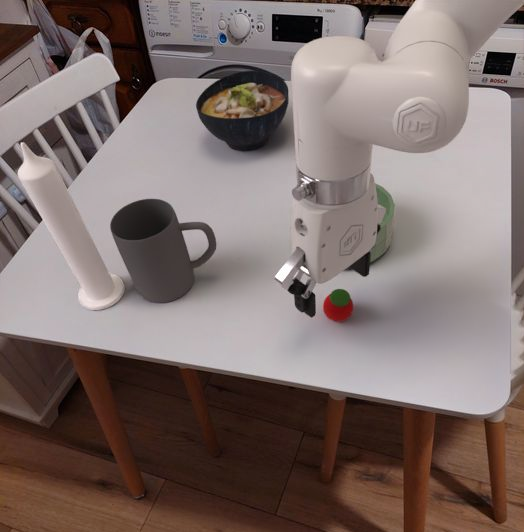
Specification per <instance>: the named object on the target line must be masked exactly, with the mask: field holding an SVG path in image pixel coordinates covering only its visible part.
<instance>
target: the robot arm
mask: <svg viewBox="0 0 524 532" xmlns="http://www.w3.org/2000/svg"><path fill="white" fill-rule="evenodd" d="M523 6H524V0H415V1H414V2H412V4H411V5H410V7H409V8H408V10H407V11H406V13H405V14H404V15H403V17H402V18H401V20H400V21H399V23H398V24H397V26H396V27H395V29H394V31H393V32H392V34H391V36H390V38H389V40H388V42H387V45H386V48H385V51H384V55H383V59H382V60H380V59H379V58H378V56H377V53H376V51H375V50H374V48H373V47H372V45H370V44H369V43H368V42H367V41H365V40H364V39H361V38H358V37H356V36H351V35H330V36H323V37H319V38H316V39H313V40H311V41H309V42H307V43H305V44H303V46H302V47H300V48H299V49H298V50H297V51H296V54H295V55H294V57H293V59H292V62H291V67H290V84H291V85H290V86H291V102H292V103H291V105H292V117H293V118H292V120H293V138H294V155H295V168H296V169H295V170H296V171H295V172H296V186H295V187H294V188H292V190H291V195H292V197H293V198H294V199H293V203H292V204H293V206H292V213H291V225H290V247H291V255H290V257H289V258H288V259H287V261H286V262H285V263H284V264H283V266H282V267H281V268H280V269H279V271H278V272H277V274H275V276H274V281H275V282H276V283H277V284H278V285H279V286H281V288H283V289H284V290H285V291H287V292H288V293H289V294H290V295H293V299H294V300H293V301H294V307H295V308H296V310H298V312H300V313H302V314H303V313H304V314H305V315H307V316H308V317H309V318H311V319H312V318H314V317H315V316H316V314H317V305H316V294H315V293H314V292H313V291H314V288H315V287H316V284H318V285H319V284H324V283H327V282H329V281H331V280H332V279H334V278H335V277H337V276H338V275H339V274H341V273H342V272H344V271H345V270H346V269H350V270H352V271H353V272H356V273H357V274H358V275H360V276H362V277H363V278H366V277H368V276H369V275H370V268H371V262H370V257H371V253H370V252H369V251H371V250H373V248H374V247H375V242H376V236H377V234H378V232H379V231H380V228H381V226H380V225H379V224H380V223H381V222H382V220H383V217H384V215H385V212H386V208H384V207H383V206H381V205H379V204H377V192H376V186H375V183H376V181H375V178H374V175H373V174H372V172H371V170H372V157H373V146H378V147H382V148H386V149H389V150H393V151H398V152H401V153H408V154H427V153H432V152H436V151H438V150H440V149H443V148H444V147H446V146H448V145H449V144H450V143H452V142H453V141H454V140H455V139H456V138H457V137H458V135H459V134H460V133H461V131H462V129H463V127H464V125H465V122H466V120H467V117H468V112H469V106H470V105H469V103H470V88H469V87H470V82H469V81H470V78H469V77H470V76H469V73H470V72H469V71H470V69H469V68H470V67H469V63H470V61H471V60H472V58H473V57H474V56H475V55H476V54H477V53H478V51H479V50H480V49H481V48H482V47H483V46H484V44H486V43H487V42H488V40H489V39H490V38H491V37H492V36H493V35H494V34H495V33H496V32H498V30H499V29H500V27H502V26H503V24H505V23H506V22H507V20H509V19H510V18H511V17H512V15H514V14H515V13H516V12H517V11H518V10H519V9H520V8H521V7H523ZM347 267H349V268H347ZM304 274H305V275H306V276H307V277H308V278H307V281H306V282H305V283H304V282H302V281H301V280H302V278H303V276H304Z"/></svg>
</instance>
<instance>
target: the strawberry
mask: <svg viewBox="0 0 524 532" xmlns="http://www.w3.org/2000/svg"><path fill="white" fill-rule="evenodd" d="M322 309H323V313H324V315H325V316H326V317H327V319H329V320H330V321H333V322H338V323H339V322H344V321H346V320H347V319H349V318H350V316H352V313H353V311H354V302H353V299H352V298H351V294H350V293H349V291H347V290H345V289H343V288H336V289H334V290H332V291H331V292H330V293H329V294H328V295H326V297H325V299H324V301H323V303H322Z"/></svg>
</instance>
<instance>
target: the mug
mask: <svg viewBox="0 0 524 532" xmlns="http://www.w3.org/2000/svg"><path fill="white" fill-rule="evenodd" d="M109 226H110V227H109V228H110V232H111V235H112V239H113V241H114V243H115V246H116V248H117V250H118V252H119V255H120V257H121V260H122V262H123V263H124V265H125V268H126V271H127V272H128V273H129V274H128V275H129V277H130V279H131V281H132V284H134V287H135V289H136V291H137V292H138V294H139V295H140V296H141V297H142V298H143V299H144V300H146V301H147V302H151V303H155V304H156V303H157V304H161V303H162V304H164V303H169V302H172V301H176V300H177V299H180V298H181V297H183V296H185V294H187V293H188V292H189V290H190V289H191V288H192V286H193V284H194V281H195V271H194V269H197V268H200V267H201V266H203V265H204V264H205V263H207V262H208V261H209V260H210V259H211V258H212V257H213V255H214V254H215V252H216V250H217V238H216V235H215V232H214V230H213V229H212V227H211V226H210V225H209V224H208V223H206V222H204V221H188V222H187V221H186V222H180V221H179V218H178V216H177V213H176V211H175V209H174V207H173V206H172V204H171V203H169V202H168V201H165V200H163V199H159V198H143V199H138V200H135V201H132V202H130V203H128V204H126V205H125V206H123V207H121V208H120V209H119V210H118V211H116V212H115V214H114V215H113V216H112V218H111V221H110V224H109ZM195 230H196V231H197V230H198V231H199V230H200V231H202V232H203V233H204V234H205V236H206V239H207V243H208V246H207V248H206V250H205V251H204V253H203V254H201V255H200V256H199V257H198V258H196V259H193V260H191V256H190V253H189V249H188V246H187V244H186V240H185V236H184V234H183V232H184V231H185V232H186V231H195Z"/></svg>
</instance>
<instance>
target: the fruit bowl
mask: <svg viewBox="0 0 524 532" xmlns="http://www.w3.org/2000/svg"><path fill="white" fill-rule="evenodd" d="M375 186H376V192H377V204H379V205H381V206H383V207H384V208H386V212H385V215H384V217H383V220H382V222H381V223H380V224H379V225H380V226H381V228H380V231H379V232H378V234H377V236H376V242H375V247H374V248H373V250H371V251H369V252H370V253H371V257H370V263H372V262H375V261H376V260H377V259H379V258H380V257H381V256H382V255H384V253H386V252H387V250H388V248H389V247H390V246H391V243H392V237H393V227H394V218H395V217H394V216H395V206H396V205H395V201H394V199H393V197H392V194H391V193H390V192H389V191H388V190H387V189H385V187H383V186H382V185H380V184H378V183H376V182H375ZM346 269H350V268H349V267H347V268H346Z"/></svg>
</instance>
